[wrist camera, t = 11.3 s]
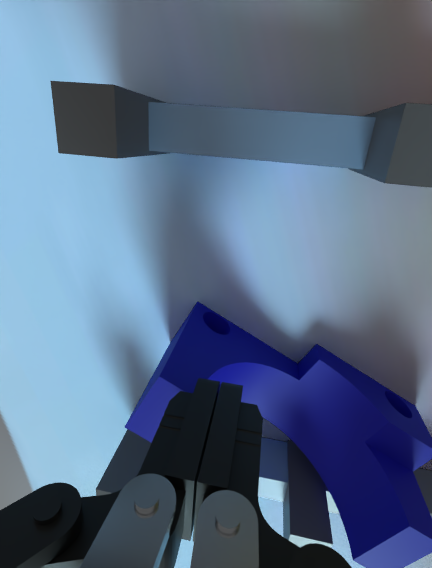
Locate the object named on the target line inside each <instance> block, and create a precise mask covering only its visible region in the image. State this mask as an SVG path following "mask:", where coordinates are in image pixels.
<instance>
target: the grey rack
mask: <svg viewBox="0 0 432 568" xmlns="http://www.w3.org/2000/svg"><path fill="white" fill-rule="evenodd" d="M51 88H52V97H53V107H54V116H55V125H56V134H57V143H58V152H59V153H64V154H75V155H85V156H96V157H107V158H127V157H137V156H147V155H157V154H166V153H181V154H192V155H204V156H215V157H227V158H238V159H249V160H261V161H272V162H283V163H295V164H306V165H318V166H329V167H340V168H348V169H350V170H352V171H355V172H357V173H360V174H363V175H365V176H368V177H370V178H373V179H375V180H378V181H381V182H383V183H389V184H400V185H410V186H421V187H432V104H416V103H404V104H401V105H398V106H395V107H391V108H388V109H385V110H382V111H378V112H375V113H372V114H369V115H366V116H349V115H334V114H319V113H305V112H290V111H275V110H260V109H246V108H231V107H216V106H201V105H187V104H172V103H165V102H162V101H159V100H156V99H154V98H151V97H148V96H145V95H142V94H139V93H136V92H133V91H130V90H127V89H125V88H122V87H119V86H116V85H108V84H92V83H76V82H60V81H51ZM150 445H151V442H149V441H147V440H146V439H144V438H142V437H141V436H139V435H137V434H135V433H134V432H132V431H130V430H129V429H128V430H127V431H126V433H125V435H124V437H123V439H122V441H121V443H120V445H119V447H118V448H117V450H116V452H115V454H114V456H113V458H112V460H111V462H110V464H109V465H108V467H107V469H106V471H105V473H104V475H103V477H102V479H101V481H100V482H99V484H98V486H97V488H96V495H97V496H98V495H106V494H111V493H114V492H117V491H119V490H121V489H122V488H123V487H124V486H125V485H126V484H127V483H128V482H129V481H130V480H132V479H133V478H135V477H136V476H137V474H138V473H139V471H140V469H141V466H142V464H143V462H144V459H145V457H146V455H147V452H148V450H149V448H150ZM413 473H414V475H415V478H416V480H417V483H418V485H419V488H420V490H421V493H422V495H423V497H424V500H425V502H426V505H427V507H428V510H429V512H430V515H431V517H432V471H431V470H426V469H421V468H418V469H416V470H415V471H413ZM258 497H262V498H266V499H271V500H276V501H280V502H283V536H284V538H286V539H287V540H289V541H290V542H292V543H294V544H295V545H297V546H299V547H302V546H304V545H306V544H310V543H317V544H322V545H325V546H328V547H330V548H332V545H333V541H332V534H331V526H330V519H329V512H330V513H335V514H339V511H338V509H337V507H336V504H335V502H334V500H333V498H332V496H331V494H330V492H329V490H328V489H327V487H326V485H325V483H324V481H323V480H322V478H321V477H320V475H319V473H318V472H317V470H316V469H315V468H314V466H313V465H312V463H311V462H310V461H309V459H308V458H307V457H306V455H305V454H304V453H303V452H302V451H301V450H300V448H299V447H298V446H297V445H296V444H295V443H294V442H293V441H287V442H283V441H278V440H273V439H268V438H263V437H262V439H261V455H260V471H259V487H258ZM339 515H340V514H339Z"/></svg>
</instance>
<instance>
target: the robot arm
mask: <svg viewBox="0 0 432 568" xmlns="http://www.w3.org/2000/svg"><path fill="white" fill-rule="evenodd" d="M242 391H243V385H237V384H231V383H226V382H222V383H221V386H220V381H214V380H208V379H203V378H198V380H197V383H196V386H195V389H194V392H193V393H189V392H184V391H180V392H179V393H177V394H176V395H175V396H174V397H173V398H172V399H171V400H170V401H169V403H168V405H167V408H166V410H165V412H164V416H163V417H162V419H161V422H160V424H159V428H158V429H157V431H156V434H155V436H154V438H153V441H152V443H151V445H150V448H149V450H148V452H147V455H146V457H145V459H144V462H143V464H142V466H141V469H140V471H139V473H138V474H137V476H136V477H135V478H133V479H132V480H130V481H129V482H128V483H127V484H126V485H125V486H124V487H123V488H122V489H121V490H119V491H117V492H114V493H111V494H106V495H98V496H90V497H80V494H79V492H78V491H77V489H76V488H75V487H73V486H72V485H70V484H67V483H52V484H48V485H46V486H43V487H41V488H39V489H37V490H35V491H34V492H32V493H30V494H28V495H27V496H25V497H23V498H21V499H20V500H18V501H16V502H14V503H12V504H11V505H9V506H7V507H5V508H4V509H2V510H0V568H174V566H175V562H176V559H177V555H178V551H179V546H180V542H181V539H185V540H189V541H190V540H191V535H192V531H193V526H194V532H193V541H194V546H193V553H192V560H191V566H190V568H351V566H350V565H349V564H348V563H347V561H346V560H345V559H344V558H343V557H342V556H341V555H340V554H339V553H337V552H336V551H335V550H333V549H332V548H330V547H328V546H325V545H322V544H317V543H310V544H306V545H304V546H302V547H299V546H297V545H295V544H294V543H292V542H290V541H289V540H287V539H286V538H284V537H282V536H281V535H279V534H278V533H277V532H275V531H274V530H273V529H272V528H271V527H270V526H269V524H268V523H267V522H266V520H265V519H264V517H263V515H262V513H261V511H260V507H259V503H258V487H259V471H260V455H261V439H262V422H263V418H262V416H261V413H260V411H259V408H258V406H257V405H255V404H249V403H244V402H241V398H242Z"/></svg>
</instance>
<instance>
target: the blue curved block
mask: <svg viewBox="0 0 432 568" xmlns="http://www.w3.org/2000/svg"><path fill="white" fill-rule="evenodd" d="M198 378H203V379H208V380H214V381H220V386H221V383H222V382H226V383H231V384H237V385H243V391H242V398H241V402H244V403H249V404H255V405H257V406H258V408H259V411H260V413H261V416H262V417H263V418H265V419H266V420H268V421H269V422H271V423H272V424H273V425H275V426H276V427H277V428H279V429H280V430H281V431H282V432H283V433H285V434H286V435H287V436H288V437H289V438H290V439H291V440H292V441H293V442H294V443H295V444H296V445H297V446H298V447H299V448H300V450H301V451H302V452H303V453H304V454H305V455H306V457H307V458H308V459H309V461H310V462H311V463H312V465H313V466H314V468H315V469H316V470H317V472H318V473H319V475H320V477H321V478H322V480H323V481H324V483H325V485H326V487H327V489H328V490H329V492H330V494H331V496H332V498H333V500H334V502H335V504H336V507H337V509H338V511H339V514H340V516H341V519H342V521H343V524H344V527H345V530H346V533H347V537H348V540H349V544H350V548H351V553H352V558H353V560H354V561H355V562H357V563H359V564H360V565H362V566H364V567H366V568H404V567H405V566H407V565H409V564H411V563H413V562H415V561H417V560H419V559H420V558H422V557H424V556H426V555H428V554H430V553H432V517H431V515H430V512H429V510H428V507H427V505H426V502H425V500H424V497H423V495H422V493H421V490H420V488H419V485H418V483H417V480H416V478H415V475H414V473H413V471H415V470H416V469H418V468H419V467H421V466H422V465H424V464H425V463H427V462H428V461H429V460H431V459H432V437H431V436H430V434H429V432H428V430H427V428H426V426H425V424H424V422H423V420H422V418H421V416H420V414H419V412H418V410H417V408H416V406H415V405H413V404H411V403H410V402H408V401H407V400H405V399H403V398H402V397H400V396H399V395H397V394H395V393H394V392H392V391H391V390H389V389H388V388H386V387H384V386H383V385H381V384H380V383H378V382H376V381H375V380H373V379H372V378H370V377H368V376H367V375H365V374H364V373H362V372H361V371H359V370H357V369H356V368H354V367H353V366H351V365H349V364H348V363H346V362H345V361H343V360H341V359H340V358H338V357H337V356H335V355H334V354H332V353H330V352H329V351H327V350H326V349H324V348H322V347H321V346H319V345H318V344H316V345H315V346H314V347H313V348H312V349H311V350H310V351H309V352H308V353H307V354H306V356H305V357H304V358H303V359H302V360H301V361H300V362H299V363H298V364H297V363H296V362H294V361H293V360H291V359H289V358H288V357H286V356H284V355H283V354H281V353H280V352H278V351H276V350H275V349H273V348H272V347H270V346H268V345H267V344H265V343H264V342H262V341H260V340H259V339H257V338H256V337H254V336H252V335H251V334H249V333H248V332H246V331H244V330H243V329H241V328H239V327H238V326H236V325H235V324H233V323H231V322H230V321H228V320H227V319H225V318H223V317H222V316H220V315H219V314H217V313H215V312H214V311H212V310H211V309H209V308H207V307H206V306H204V305H203V304H201V303H199V302H197V303H196V305H195V306H194V308H193V309H192V311H191V312H190V314H189V315H188V317H187V318H186V320H185V321H184V323H183V324H182V326H181V327H180V329H179V330H178V332H177V333H176V335H175V337H174V338H173V340H172V341H171V343H170V344H169V346H168V348H167V350H166V352H165V354H164V355H163V357H162V359H161V361H160V363H159V365H158V367H157V368H156V370H155V372H154V374H153V376H152V378H151V379H150V381H149V383H148V385H147V387H146V389H145V390H144V392H143V394H142V396H141V398H140V400H139V402H138V403H137V405H136V407H135V409H134V411H133V413H132V414H131V416H130V418H129V420H128V422H127V424H126V426H125V428H127V429H129V430H130V431H132V432H134V433H135V434H137V435H139V436H141V437H142V438H144V439H146V440H147V441H149V442H151V443H152V441H153V438H154V436H155V434H156V431H157V429H158V428H159V424H160V422H161V419H162V417H163V416H164V412H165V410H166V408H167V405H168V403H169V401H170V400H171V399H172V398H173V397H174V396H175V395H176V394H177V393H179V392H180V391H184V392H189V393H193V392H194V389H195V386H196V383H197V380H198Z"/></svg>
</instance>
